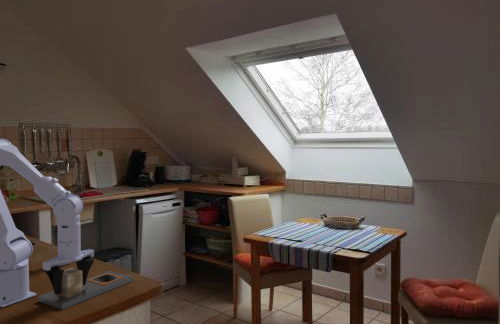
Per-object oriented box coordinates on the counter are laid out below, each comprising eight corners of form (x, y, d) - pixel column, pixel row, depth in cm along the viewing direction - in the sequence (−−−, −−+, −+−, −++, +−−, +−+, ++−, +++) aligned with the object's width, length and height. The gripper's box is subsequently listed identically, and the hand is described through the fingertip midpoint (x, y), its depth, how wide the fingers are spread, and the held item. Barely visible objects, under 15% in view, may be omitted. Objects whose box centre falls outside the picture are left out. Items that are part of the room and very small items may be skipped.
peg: (68, 302, 109) (67, 275, 108) (57, 298, 111) (57, 272, 110) (82, 296, 113) (82, 270, 112) (72, 293, 115) (71, 267, 114)
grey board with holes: (62, 309, 104) (62, 303, 104) (38, 301, 109) (38, 295, 109) (132, 281, 125) (132, 275, 125) (110, 275, 130) (109, 270, 130)
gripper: (54, 248, 102) (55, 300, 103) (100, 236, 115) (101, 283, 116) (37, 244, 106) (38, 294, 107) (84, 233, 118) (85, 278, 119)
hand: (70, 288), depth 112 cm, fingers open, 7 cm apart
